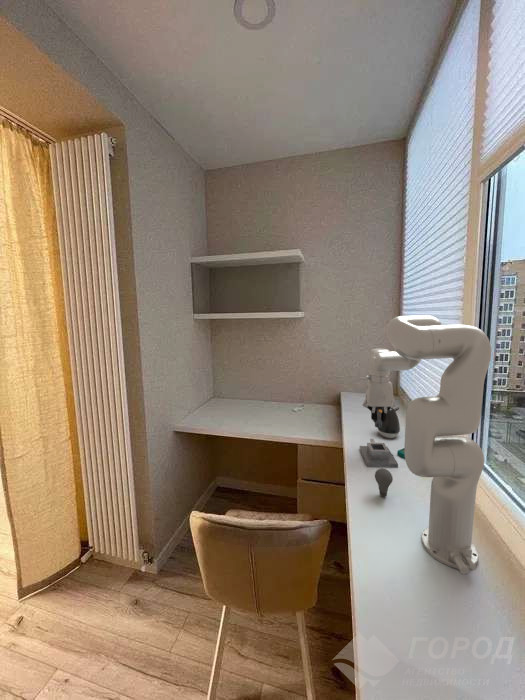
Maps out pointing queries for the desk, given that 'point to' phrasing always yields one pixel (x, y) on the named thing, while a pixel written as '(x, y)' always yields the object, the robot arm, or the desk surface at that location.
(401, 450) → the digital multimeter
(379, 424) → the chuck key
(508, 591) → the desk surface
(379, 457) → the block
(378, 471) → the light bulb
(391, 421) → the pump dispenser
